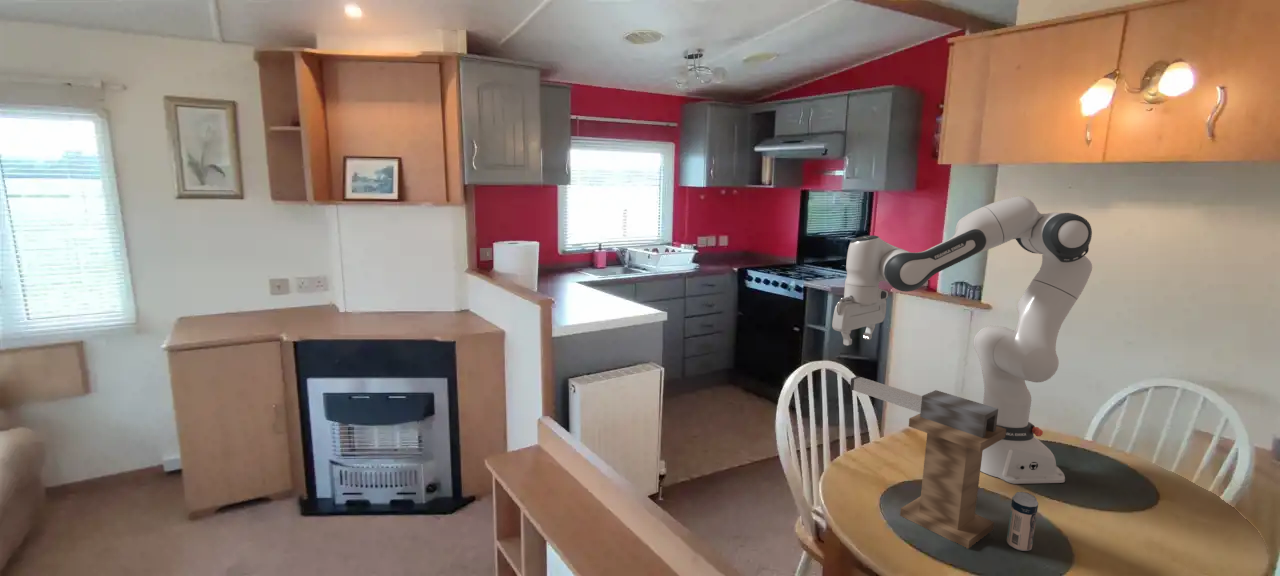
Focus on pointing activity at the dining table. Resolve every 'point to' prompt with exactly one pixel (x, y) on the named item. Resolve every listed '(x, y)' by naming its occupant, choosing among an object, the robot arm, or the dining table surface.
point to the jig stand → (953, 466)
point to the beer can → (1022, 521)
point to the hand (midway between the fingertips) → (857, 341)
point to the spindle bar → (887, 393)
